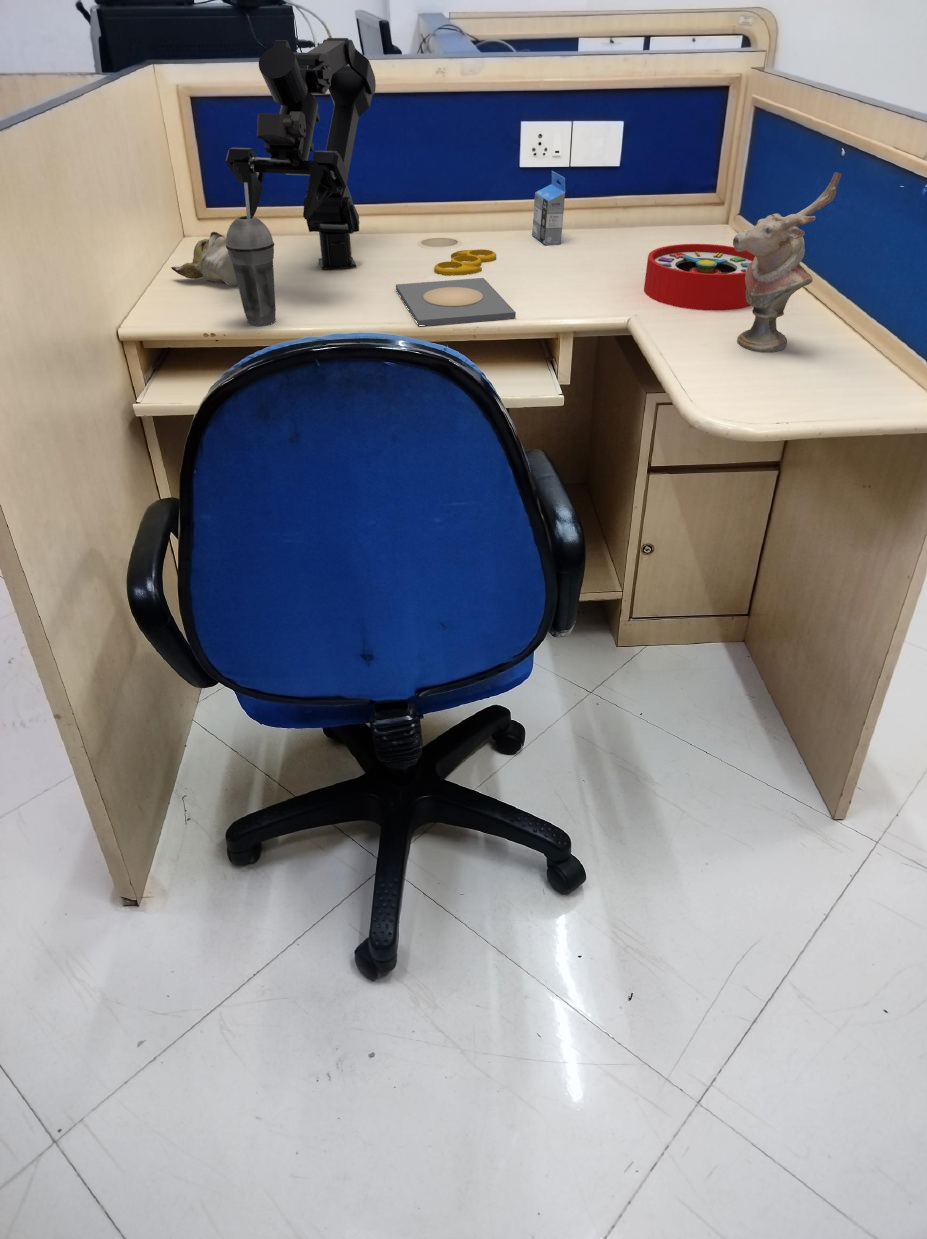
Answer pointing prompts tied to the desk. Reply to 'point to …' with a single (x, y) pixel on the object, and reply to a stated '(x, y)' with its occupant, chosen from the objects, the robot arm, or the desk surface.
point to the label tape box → (549, 212)
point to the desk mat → (454, 302)
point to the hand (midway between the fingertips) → (277, 216)
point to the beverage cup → (253, 266)
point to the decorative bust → (775, 270)
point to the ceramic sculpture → (210, 261)
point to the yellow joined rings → (465, 267)
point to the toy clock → (698, 276)
